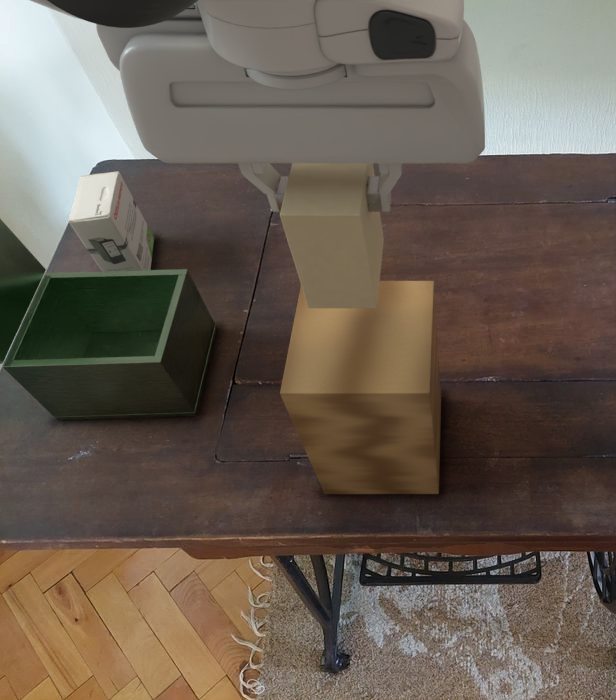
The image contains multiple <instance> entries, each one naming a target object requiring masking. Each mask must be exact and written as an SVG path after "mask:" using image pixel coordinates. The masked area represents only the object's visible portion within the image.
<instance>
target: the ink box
mask: <svg viewBox="0 0 616 700" xmlns="http://www.w3.org/2000/svg"><path fill="white" fill-rule="evenodd" d="M78 179H79V180H78V183H77V186H76V192H75V194H74V199H73V203H72V206H71V210H70V214H69V217H68V221H67V222H68V224H69V225H70V227H71V228H72V229H73V231H74V233H75V234H76V236H77V237H78V239H79V240H80V241H81V243H82V244H83V246H84V247H85V249H86V250H87V252H88V253H89V255H90V256H91V258H92V260H93V261H94V262H95V264H96V265H97V267H98V268H99V269H100V272H101V271H138V270H152V261H153V253H154V245H155V236H154V234H153V233H152V231H151V229H150V227H149V225H148V223H147V221H146V219H145V217H144V216H143V213H142V212H141V210H140V208H139V206H138V205H137V202H136V201H135V199H134V197H133V195H132V192H131V191H130V189H129V187H128V186H127V184H126V182H125V179H124V178H123V176H122V174H121V172H120V171H119V170H118V171H117V170H116V171H109V172H101V173H92V174H85V175H80V176H79V178H78Z"/></svg>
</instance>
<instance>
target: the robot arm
mask: <svg viewBox="0 0 616 700" xmlns="http://www.w3.org/2000/svg"><path fill="white" fill-rule="evenodd" d="M29 1H30V2H33V3H35V4H38V5H41V6H42V7H45V8H48V9H50V10H53V11H56V12H59V13H61V14H64V15H67V16H69V17H71V18H73V19H78V20H82V21H86V22H89V23H92V24H95V26H96V28H95V29H96V33H97V37H98V38H99V40H100V42H101V44H102V46H103V48H104V51H105V53H106V56H107V57H108V59H109V61H110V62H111V64H112V65H113V66H114V67H115V69H116V70H117V71H118V72H119V75H120V80H121V84H122V85H121V86H122V89H123V93H124V96H125V100H126V103H127V106H128V110H129V113H130V116H131V119H132V121H133V125H134V127H135V129H136V132H137V135H138V137H139V140H140V142H141V144H142V146H143V148H144V149H145V151H147V152H148V153H149V154H150V155H152V156H153V157H154V158H156V159H157V160H158V161H161V162H162V163H164V164H237V165H238V168H239V171H240V174H241V175H242V176H243V177H244V178H245V179H247V180H248V181H249V182H250V183H251V184H252V185H253V186H255V187H256V188H257V189H258V190H259V191H260V192H262V194H264V195H266V198H267V200H268V204H269V207H270V210H271V212H273V213H280V212H281V208H282V204H283V200H284V195H285V191H286V187H287V183H288V179H289V175H281V174H280V173H279V172H278V171H277V169H275V168H274V167H273V164H292V163H373V164H377V166H378V172H379V175H375V176H368V181H367V188H366V199H367V203H368V211H369V212H380V213H390V212H391V206H392V190H394V187H395V186H396V184H397V183H398V181H399V180H400V178H401V177H402V175H403V167H404V166H403V164H456V165H457V164H459V165H460V164H461V165H465V164H471V163H473V162H475V161H476V160H477V159H478V158H479V156H480V155H481V154H482V153H483V152H484V151H485V149H486V114H485V113H486V112H485V99H484V87H483V86H484V85H483V76H482V67H481V61H480V54H479V49H478V45H477V42H476V41H477V40H476V38H475V35H474V33H473V31H472V28H471V27H470V26H469V24H468V22H466V20H465V19H464V14H465V0H29ZM271 164H272V165H271Z"/></svg>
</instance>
